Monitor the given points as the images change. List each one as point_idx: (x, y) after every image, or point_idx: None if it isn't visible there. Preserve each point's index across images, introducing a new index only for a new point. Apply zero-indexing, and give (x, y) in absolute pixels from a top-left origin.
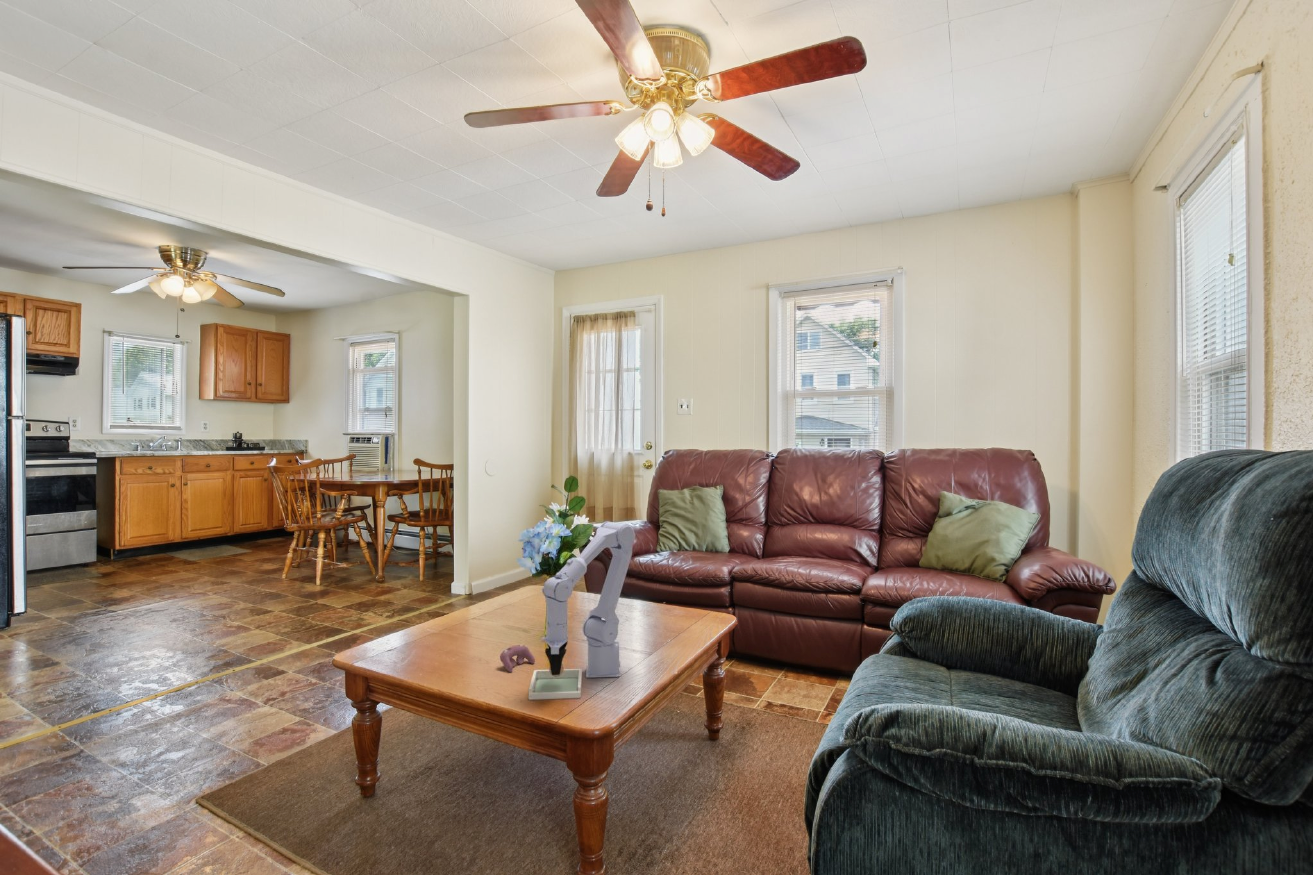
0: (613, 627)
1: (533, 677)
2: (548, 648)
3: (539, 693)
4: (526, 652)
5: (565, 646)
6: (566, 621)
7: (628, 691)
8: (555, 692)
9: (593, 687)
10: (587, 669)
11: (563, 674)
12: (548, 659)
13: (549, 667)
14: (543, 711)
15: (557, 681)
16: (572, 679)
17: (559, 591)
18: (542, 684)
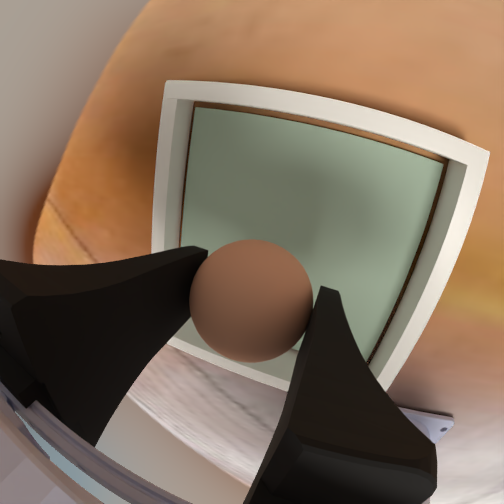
0: None
1: (352, 114)
2: (18, 337)
3: (160, 140)
4: None
5: (244, 500)
6: None
7: (199, 431)
8: (159, 223)
9: (250, 383)
10: (419, 418)
11: (397, 324)
12: (72, 265)
13: (242, 253)
14: (86, 154)
15: (364, 271)
16: (357, 345)
17: None
18: (351, 176)
